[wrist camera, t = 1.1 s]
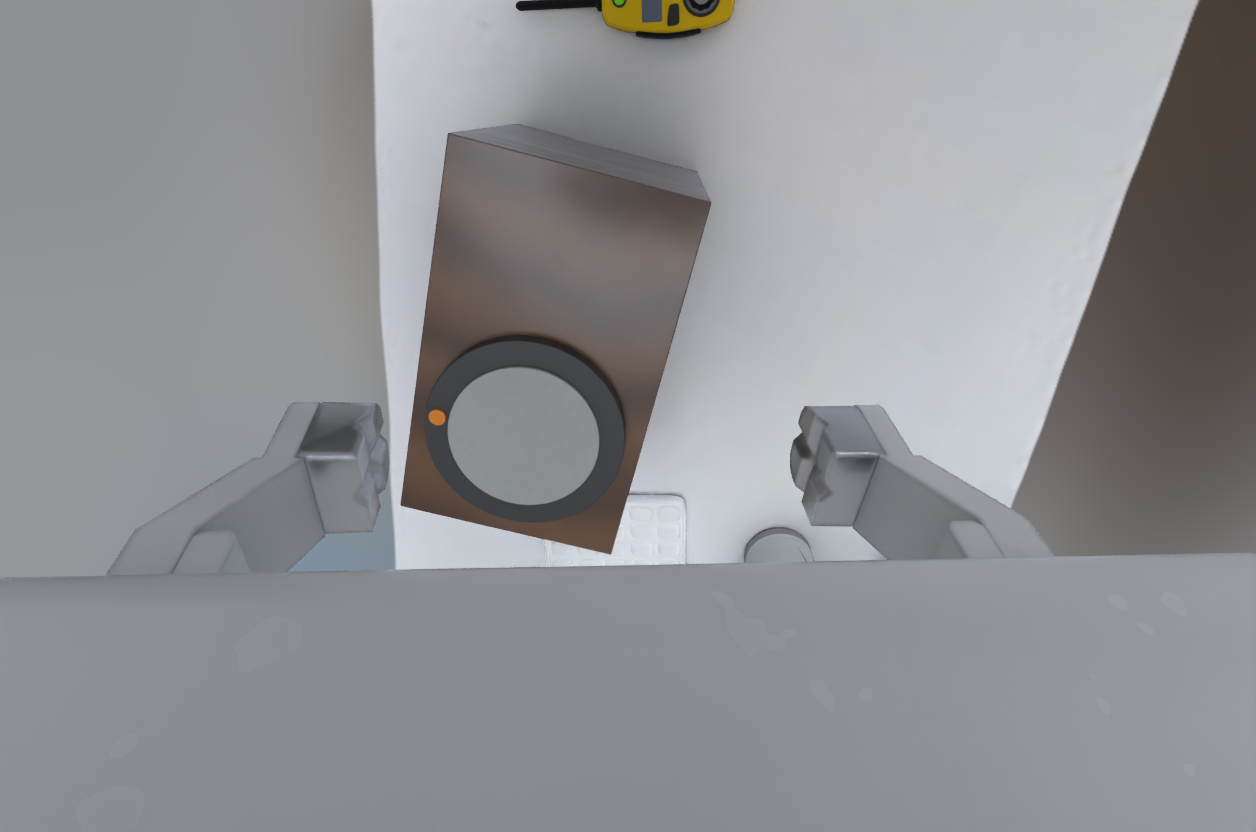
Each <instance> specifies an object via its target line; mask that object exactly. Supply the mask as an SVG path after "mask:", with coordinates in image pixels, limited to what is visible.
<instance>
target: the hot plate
mask: <svg viewBox="0 0 1256 832" xmlns="http://www.w3.org/2000/svg"><path fill="white" fill-rule="evenodd" d="M424 428H425V438H426V442H427V447H428V450H429V453H430V455H431V458H432V461H433V462H434V464H435V466H436V468H437V470H438V472H439V473H440V474H441V476H442V477H443V479H444V480H445V481H446V483H447V484H448V485H449V486H450V487H451V488H452V489H453V490H454V491H455V492H456V493H457V494H458V495H459V496H461V497H462V498H463V499H464V500H466V501H467V502H469V503H470V504H471V505H473V506H475V507H476V508H478V509H480V510H482V511H484V512H486V513H489V514H491V515H493V516H496V517H499V518H503V519H506V520H511V521H517V522H528V523H538V522H548V521H555V520H559V519H562V518H566V517H569V516H571V515H573V514H576V513H578V512H580V511H582V510H583V509H585V508H587V507H588V506H590V505H591V504H592V503H594V502H595V501H596V500H598V499H599V498H600V497H601V496H602V495H603V494H604V493H605V491H606V490H607V489H608V488H609V486H610V485H611V484H612V482H613V481H614V479H615V477H616V475H617V473H618V471H619V468H620V466H621V463H622V460H623V454H624V449H625V440H626V427H625V418H624V414H623V410H622V406H621V404H620V401H619V399H618V396H617V394H616V392H615V391H614V389H613V387H612V385H611V384H610V382H609V381H608V380H607V378H606V377H605V376H604V374H603V373H602V372H601V371H600V370H599V369H598V368H597V367H596V366H595V365H594V364H593V363H592V362H590V361H589V360H588V359H587V358H585V357H584V356H583V355H581V354H579V353H578V352H576V351H575V350H573V349H571V348H569V347H567V346H565V345H562V344H560V343H558V342H554V341H551V340H548V339H544V338H539V337H533V336H519V335H518V336H505V337H500V338H495V339H491V340H488V341H485V342H482V343H479V344H477V345H475V346H473V347H472V348H470V349H468V350H466V351H465V352H464V353H462V354H461V355H459V356H458V357H457V358H456V359H455V360H454V361H453V362H452V363H451V364H449V366H448V367H447V368H446V369H445V370H444V372H443V373H442V374H441V376H440V377H439V378H438V379H437V381H436V383H435V385H434V387H433V388H432V390H431V393H430V396H429V398H428V401H427V405H426V410H425V420H424Z"/></svg>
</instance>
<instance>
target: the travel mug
mask: <svg viewBox="0 0 1256 832" xmlns="http://www.w3.org/2000/svg"><path fill="white" fill-rule="evenodd" d="M744 559H745V563H768V562H814V559H813V556H812V553H811V550H810V546H809V544H808V542H807V541H806V539H805V538H804V537H803V536H802V535H800V534H799V533H797V532H795V531H793V530H789V529H785V528H773V529H769V530H765V531H763V532H761V533H759V534H758V535H756V536H755V537H754V538H753V539H752V540H751V541H750V542H749V544H748V545H747V547H746V550H745V554H744Z"/></svg>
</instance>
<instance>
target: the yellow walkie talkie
mask: <svg viewBox="0 0 1256 832" xmlns="http://www.w3.org/2000/svg"><path fill="white" fill-rule="evenodd" d="M734 3H735V0H534V1H519V2H517V4H516V8H517V9H518V10H520V11H525V10H545V9H564V8H584V7H597V9H598V11H602V12H603V17H604V20H605V22H606V24H607V25H608V26H610V27H611V28H614V29H618V30H622V31H625V32H631V33H636V36H638V37H644V38H652V39H672V38H680V37H687V36H691V35H695V34H699V33H701V30H703V29H707V28H711V27H713V26H716V25H719V24H721V23H724V22H726V21H727V20H729V19H730V17H731V15H732V13H733V8H734Z"/></svg>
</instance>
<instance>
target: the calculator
mask: <svg viewBox="0 0 1256 832" xmlns="http://www.w3.org/2000/svg"><path fill="white" fill-rule="evenodd" d="M544 543H545V554H546V564H547V567H566V566H617V565H668V564H686V507H685V503H684V500H683V499H682V498H680V497H678V496H673V495H628V497H627V501H626V504H625V508H624V511H623V515H622V518H621V522H620V525H619V529H618V532H617V536H616V539H615V543H614V546H613V550H612V553H611V555H610V554H606V553H601V552H597V551H593V550H588V549H584V548H580V547H576V546H571V545H567V544H563V543H558V542H554V541H550V540H546V539H544Z"/></svg>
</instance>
